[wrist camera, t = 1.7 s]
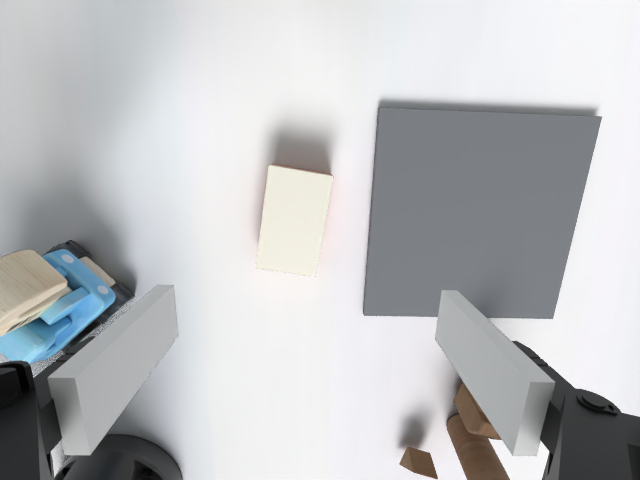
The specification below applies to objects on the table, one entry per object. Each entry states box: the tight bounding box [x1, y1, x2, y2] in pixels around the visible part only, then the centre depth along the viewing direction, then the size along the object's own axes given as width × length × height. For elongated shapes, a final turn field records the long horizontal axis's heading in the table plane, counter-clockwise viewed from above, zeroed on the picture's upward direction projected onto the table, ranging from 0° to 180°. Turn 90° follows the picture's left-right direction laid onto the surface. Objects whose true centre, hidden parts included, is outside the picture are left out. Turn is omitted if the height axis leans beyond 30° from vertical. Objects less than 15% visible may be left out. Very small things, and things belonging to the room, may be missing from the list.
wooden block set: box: [400, 382, 510, 480], centre depth 36 cm, size 18×9×10 cm, turn 164°
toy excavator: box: [0, 240, 135, 364], centre depth 27 cm, size 9×17×17 cm, turn 130°
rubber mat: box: [363, 108, 602, 319], centre depth 34 cm, size 22×22×1 cm
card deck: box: [256, 164, 334, 277], centre depth 32 cm, size 6×10×4 cm, turn 170°
